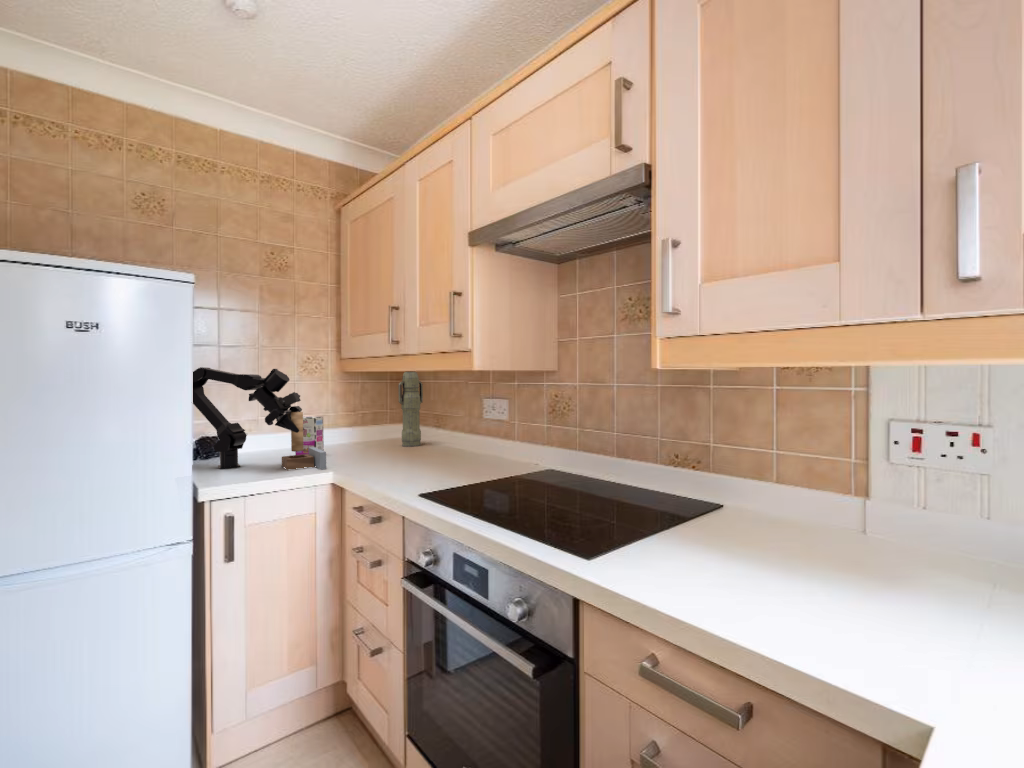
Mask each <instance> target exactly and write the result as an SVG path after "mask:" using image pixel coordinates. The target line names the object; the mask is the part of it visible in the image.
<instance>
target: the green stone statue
mask: <svg viewBox="0 0 1024 768" xmlns="http://www.w3.org/2000/svg"><path fill="white" fill-rule="evenodd" d="M401 380H402V381H400V382H398V403H399V404H400V405H401V407H400V408H401V411H402V429H401V442H402V445H401V446H402V447H406V448H407V447H408V448H410V447H411V448H412V447H420V446H421V441H422V431H421V429H420V428H421V426H420V424H421V421H420V409H421V404H422V403H423V401H424V399H423V397H424V393H423V392H424V389H423V387H424V386H423V385H424V384H423V383H422V381H420V377H419V375H418V371H417V372H416V371H405V372H403V374H402V379H401Z"/></svg>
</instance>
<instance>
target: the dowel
mask: <svg viewBox="0 0 1024 768" xmlns="http://www.w3.org/2000/svg"><path fill="white" fill-rule="evenodd" d="M303 417H304V411H301V412H291V420H292V421H293V423H294V424H295V425H296V426H297V428H298V429H299V432H298V433H296V432H294V431H291V430H290V437H291V438H290V439H291V440H290V442H291V444H290V445H291V448H290V449H291V452H296V451H303Z"/></svg>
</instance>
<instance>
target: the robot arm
mask: <svg viewBox="0 0 1024 768" xmlns="http://www.w3.org/2000/svg"><path fill="white" fill-rule="evenodd" d="M192 372H193V403H192V404H193V405H194V407H195V408H196V409H197V410H198V411H199V412H200V413H201V414H202V416H203V417H204V418H205V419H206V420H207V421H208V422H209V424H211V425H212V426H213V428H214V429H215V431H216V436H217V439H218V441H217V442H216V443H215V444H213V450H214V452H215V453H219V464H218V465H217V467H218V468H219V470H223V469H231V468H240V467H241V465H240V464H239V449H240V450H241V449H243V447H244V444H245V442H246V440H247V433H246V432H245V431H246V429H244V428H243V427H242V426H241V424H240V423H239V422H233V423H231V422H230V421H229V420H228V419H227V418H226V417H225V416H224V415H223V413H221V411H220V410H219V409H218V408H217V407H216V406H215V404H214V403H213V402H212V401H211V400H210V399H209V398H208V397H207V396H206V393H205V390H204V389H205V388H204V386H205V385H206V384H207V382H208V381H209V380H211V381H215V382H221V383H226V384H231V385H233V386H235V387H236V388H237V389H240V390H243V391H253V392H251V393H248V402H253V401H257V402H258V403H260V405H261V406H262V407H263V410H264V411H265V412H268V414H267V415H266V416H265V417H264V422H265V423H266V425H268V426H273V425H274V426H277V427H280V428H284V429H286V430H289V431H290V432H291V431H294V432H296V433H298V432H299V429H298V428H297V426H296V425H295V424H294V423H293V421H292V420H291V412H303V411H302V410H303V408H302V407H301V406H300V405H294V406H292V405H293V404H295V403H299V402H300V401H302V400H301V395H300V394H299V393H298V392H295V391H294V392H293V391H292V393H289V394H288V395H285V396H283V397H281V396H279V397H278V396H277V395H276V393H275V392H277V393H279V392H280V391H282V389H283V388H284V387H285V386H286V385H287V383H289V382H290V377H289V376H288V375H287V374H285V373H284V372H282V371H280V370H279V369H278V368H272V369H271V370H270V372H269V373H268V375H266V377H265V378H264V377H262V376H261V375H260V374H251V373H250V374H248V373H247V374H244V373H243V374H238V373H234V372H229V371H224V370H220V369H214V368H211V367H203V366H201V367H198V368H196V369H195V370H194V371H192ZM274 421H276V422H275V424H274ZM303 431H304V427H303Z"/></svg>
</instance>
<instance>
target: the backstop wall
mask: <svg viewBox="0 0 1024 768" xmlns="http://www.w3.org/2000/svg"><path fill="white" fill-rule="evenodd" d="M309 455H311V456H313V457H314V467H315V466H316V467H317V468H316V467H315V468H316V469H318V468H319V470H320V469H321V470H327V452H326V451H325V450H324V451H322V450H320V449H317V448H315V447H310V448H309Z"/></svg>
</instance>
